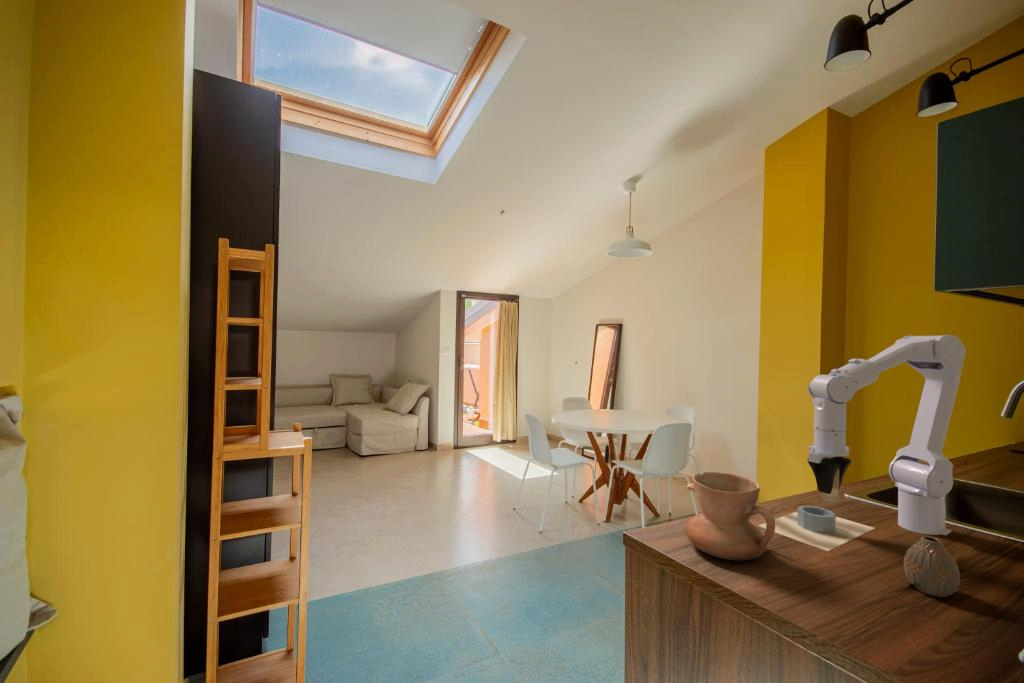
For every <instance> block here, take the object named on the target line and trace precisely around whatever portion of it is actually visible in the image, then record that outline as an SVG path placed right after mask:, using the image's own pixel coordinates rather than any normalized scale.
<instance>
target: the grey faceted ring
mask: <svg viewBox="0 0 1024 683" xmlns="http://www.w3.org/2000/svg"><path fill="white" fill-rule="evenodd" d="M797 511H798V525H799V526H801V527H802V528H804V529H807V530H810V531H813V532H818V533H833V532H835V521H836V517H837V516H836V513H835V512H833V511H831V510H830V509H827V508H823V507H820V506H813V505H800V506H797Z"/></svg>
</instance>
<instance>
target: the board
mask: <svg viewBox="0 0 1024 683" xmlns="http://www.w3.org/2000/svg"><path fill="white" fill-rule="evenodd" d="M774 520H775V532H774V534H775V533H776V534H778V535H781V536H784V537H787V538H790V539H791V540H794V541H798V542H801V543H803V544H807V545H809V546H812V547H815V548H817V549H820V550H823V551H825V552H830V551H832V550H834V549H836V548H838V547H839V546H841V545H843V544H846V543H848V542H850V541H852V540H854V539H856V538H858V537H860V536H862V535H864V534H866V533H869V532H871V531H873V530H874V529H876V528H875V527H873V526H869V525H865V524H863V523H859V522H856V521H852V520H849V519H845V518H842V517H839V516H836V521H835V532H833V533H818V532H813V531H810V530H807V529H804V528H802V527H801V526H799V525H798V510H797V511H794V512H792V513H789V514H785V515H782V516H781V517H777V518H774ZM757 527H759V528H761V529H765V530H766V522H764V523H761V524H758V525H757Z"/></svg>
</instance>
